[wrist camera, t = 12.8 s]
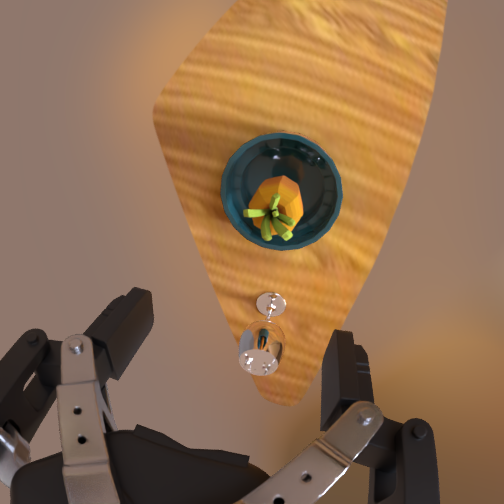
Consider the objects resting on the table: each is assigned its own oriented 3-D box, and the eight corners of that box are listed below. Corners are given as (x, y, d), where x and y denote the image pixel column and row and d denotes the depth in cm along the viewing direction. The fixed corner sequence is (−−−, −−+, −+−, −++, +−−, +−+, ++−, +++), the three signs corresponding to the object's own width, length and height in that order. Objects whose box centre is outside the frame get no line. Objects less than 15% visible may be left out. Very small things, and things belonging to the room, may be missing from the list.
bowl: (237, 124, 33) (226, 125, 29) (346, 142, 32) (353, 145, 28) (227, 224, 39) (216, 239, 35) (325, 242, 38) (328, 259, 33)
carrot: (255, 179, 35) (223, 220, 22) (288, 156, 34) (276, 183, 20) (279, 211, 37) (262, 270, 23) (312, 190, 35) (315, 238, 21)
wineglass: (295, 295, 42) (290, 354, 32) (283, 324, 45) (273, 383, 34) (258, 283, 42) (241, 339, 32) (247, 312, 45) (229, 369, 34)
